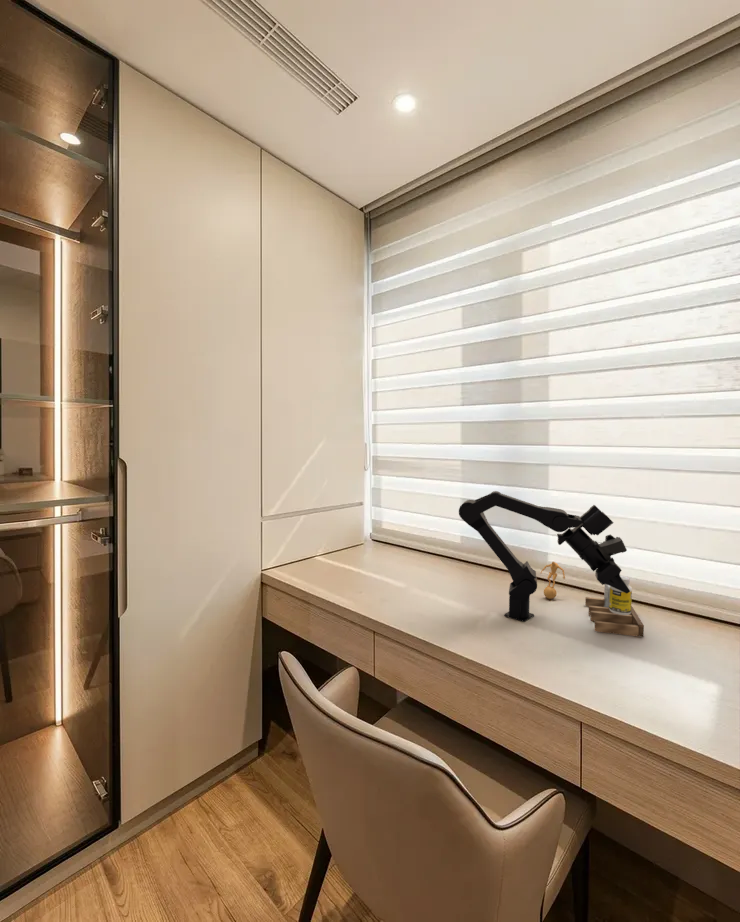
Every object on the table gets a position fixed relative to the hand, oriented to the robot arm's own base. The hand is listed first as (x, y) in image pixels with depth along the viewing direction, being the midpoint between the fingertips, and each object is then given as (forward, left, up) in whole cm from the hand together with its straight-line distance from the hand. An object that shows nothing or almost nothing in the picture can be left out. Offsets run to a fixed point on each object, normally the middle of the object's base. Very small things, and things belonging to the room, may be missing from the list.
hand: (626, 588), depth 128 cm
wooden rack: (+4, +5, -11) cm, 13 cm away
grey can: (+10, +6, -11) cm, 17 cm away
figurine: (+9, +25, -11) cm, 29 cm away
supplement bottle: (-1, +1, -7) cm, 7 cm away
